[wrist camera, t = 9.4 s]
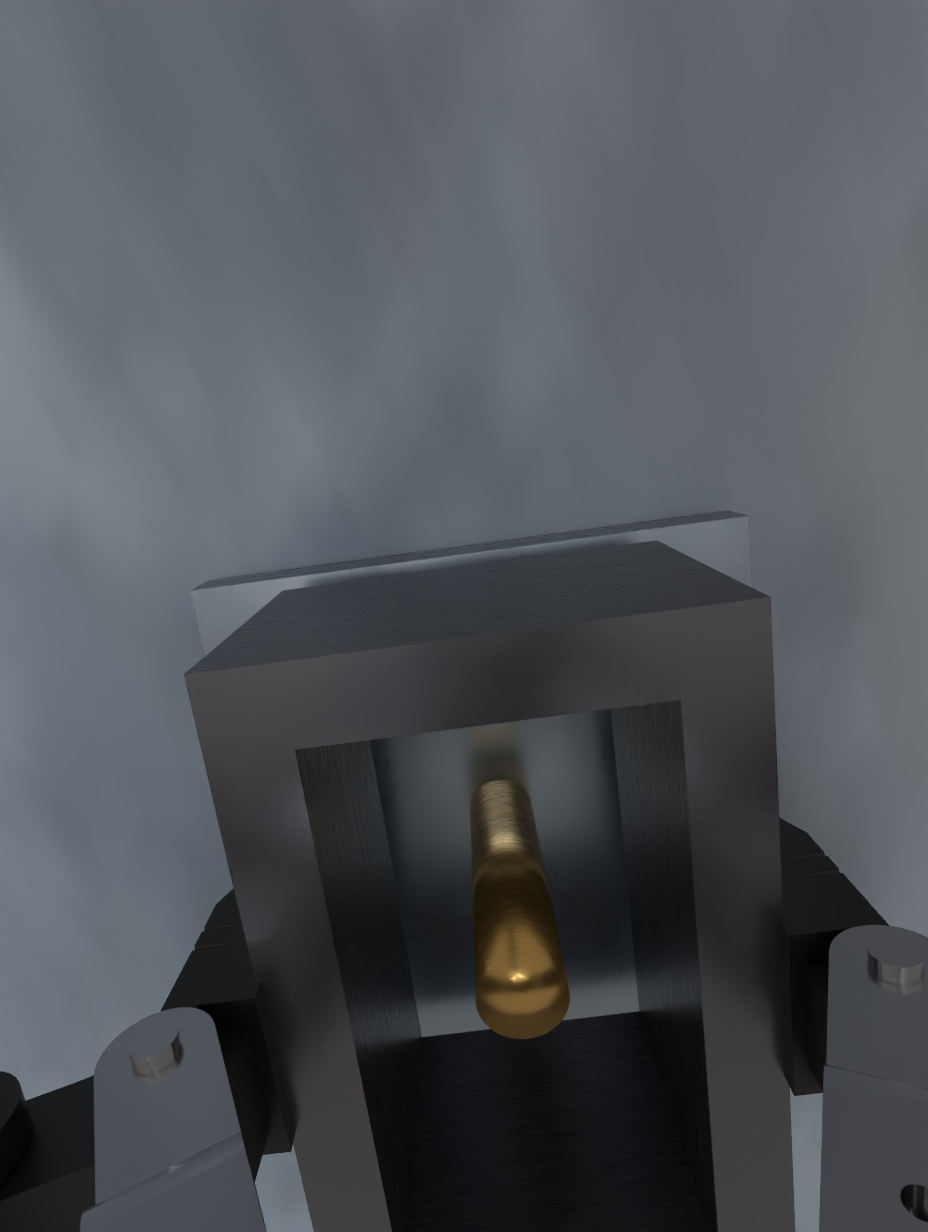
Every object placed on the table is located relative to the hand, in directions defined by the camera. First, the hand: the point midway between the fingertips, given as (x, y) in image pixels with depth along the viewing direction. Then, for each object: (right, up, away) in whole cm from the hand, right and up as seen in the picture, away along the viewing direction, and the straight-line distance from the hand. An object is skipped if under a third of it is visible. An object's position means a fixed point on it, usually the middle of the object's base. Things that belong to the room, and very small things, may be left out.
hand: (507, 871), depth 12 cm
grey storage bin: (0, 0, +1) cm, 1 cm away
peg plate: (0, +1, +3) cm, 3 cm away
